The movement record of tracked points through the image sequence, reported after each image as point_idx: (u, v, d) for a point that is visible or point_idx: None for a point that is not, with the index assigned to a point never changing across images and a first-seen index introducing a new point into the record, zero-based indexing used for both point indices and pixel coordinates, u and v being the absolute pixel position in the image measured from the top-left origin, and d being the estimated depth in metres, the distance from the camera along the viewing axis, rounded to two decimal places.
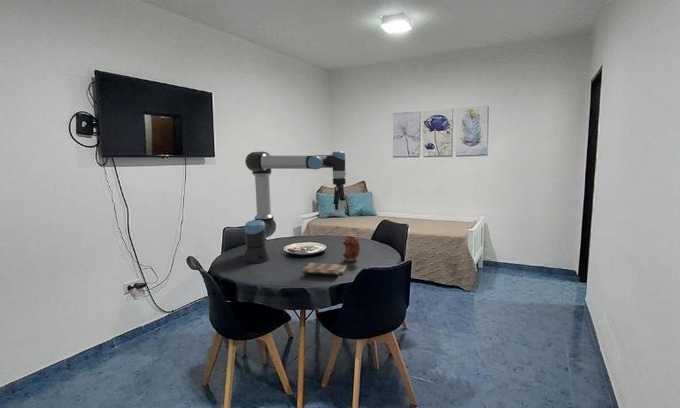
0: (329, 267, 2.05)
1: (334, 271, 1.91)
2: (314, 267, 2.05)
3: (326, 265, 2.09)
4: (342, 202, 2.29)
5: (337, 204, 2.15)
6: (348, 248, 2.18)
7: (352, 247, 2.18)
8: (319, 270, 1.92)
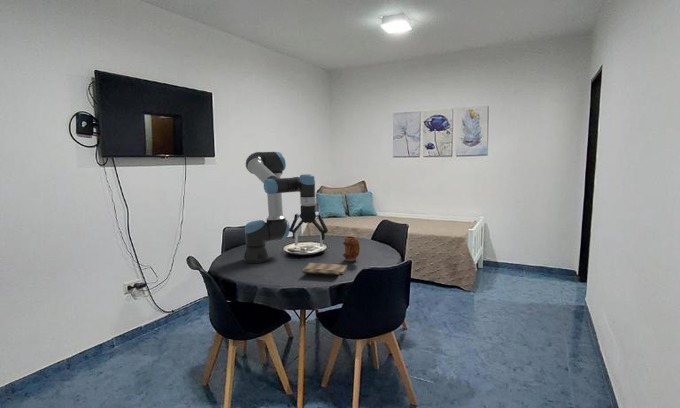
0: (329, 267, 2.05)
1: (334, 271, 1.91)
2: (314, 267, 2.05)
3: (326, 265, 2.09)
4: None
5: (293, 233, 1.93)
6: (348, 248, 2.18)
7: (352, 247, 2.18)
8: (319, 270, 1.92)
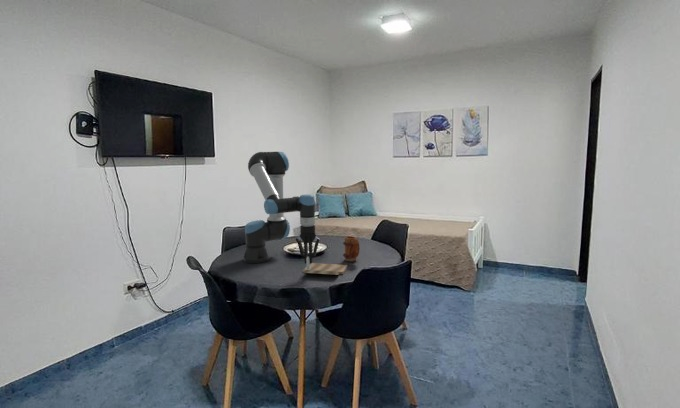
0: (329, 267, 2.05)
1: (334, 272, 1.90)
2: (314, 267, 2.05)
3: (326, 265, 2.09)
4: None
5: (304, 257, 1.93)
6: (348, 248, 2.18)
7: (352, 247, 2.18)
8: (319, 271, 1.92)
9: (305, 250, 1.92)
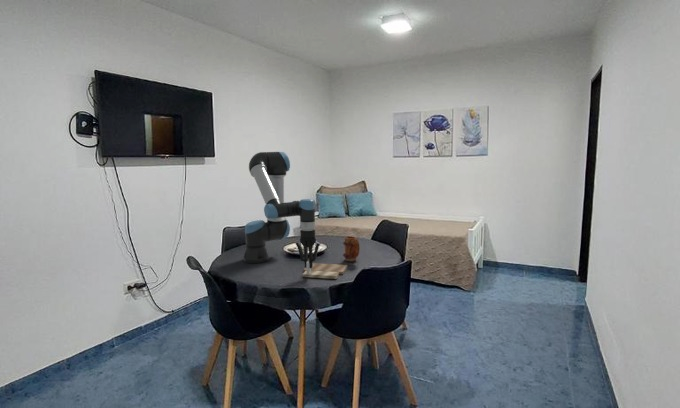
0: (329, 267, 2.05)
1: (334, 276, 1.90)
2: (314, 267, 2.05)
3: (326, 265, 2.09)
4: None
5: None
6: (348, 248, 2.18)
7: (352, 247, 2.18)
8: (319, 276, 1.92)
9: (305, 254, 1.92)
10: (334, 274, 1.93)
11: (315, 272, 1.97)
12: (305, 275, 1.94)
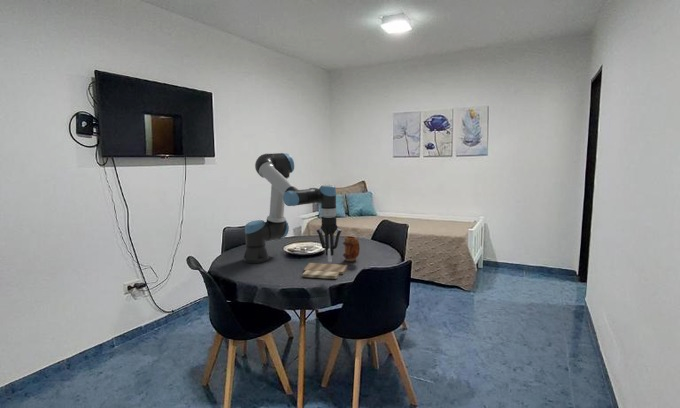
0: (329, 267, 2.05)
1: (334, 276, 1.90)
2: (314, 267, 2.05)
3: (326, 265, 2.09)
4: None
5: (326, 249, 1.90)
6: (348, 248, 2.18)
7: (352, 247, 2.18)
8: (319, 276, 1.92)
9: (326, 242, 1.89)
10: (334, 274, 1.93)
11: (315, 272, 1.97)
12: (305, 275, 1.94)
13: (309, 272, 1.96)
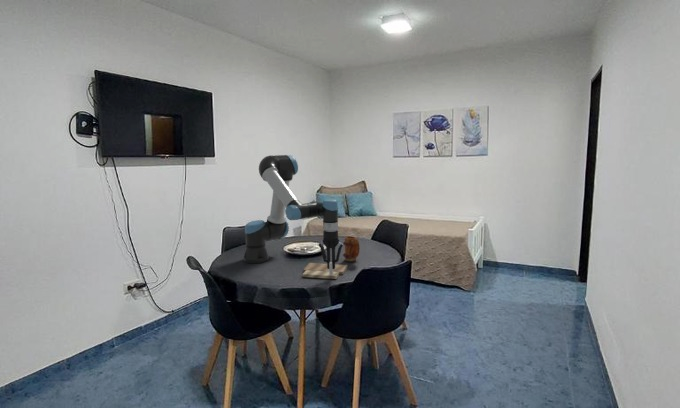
0: None
1: (334, 276, 1.90)
2: (314, 267, 2.05)
3: (326, 265, 2.09)
4: None
5: (327, 263, 1.91)
6: (348, 248, 2.18)
7: (352, 247, 2.18)
8: (319, 276, 1.92)
9: (328, 255, 1.90)
10: (334, 274, 1.93)
11: (315, 272, 1.97)
12: (305, 275, 1.94)
13: (309, 273, 1.96)
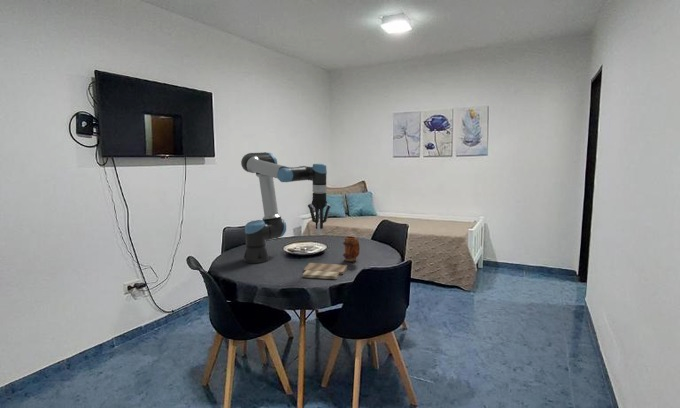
0: (329, 267, 2.05)
1: (334, 277, 1.90)
2: (314, 267, 2.05)
3: (326, 265, 2.09)
4: None
5: (316, 223, 2.05)
6: (348, 248, 2.18)
7: (352, 247, 2.18)
8: (319, 276, 1.92)
9: (316, 216, 2.03)
10: (334, 274, 1.93)
11: (315, 272, 1.97)
12: (305, 275, 1.94)
13: (309, 273, 1.96)
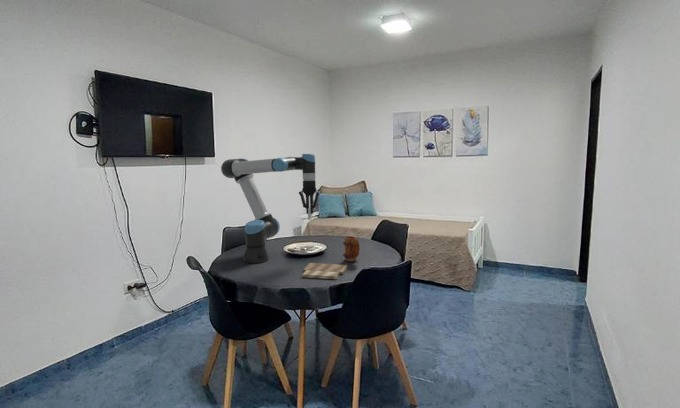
0: (329, 267, 2.05)
1: (334, 277, 1.90)
2: (314, 267, 2.05)
3: (326, 265, 2.09)
4: None
5: (306, 208, 2.22)
6: (348, 248, 2.18)
7: (352, 247, 2.18)
8: (319, 276, 1.92)
9: (307, 202, 2.21)
10: (334, 274, 1.93)
11: (315, 272, 1.97)
12: (305, 275, 1.94)
13: (309, 273, 1.96)
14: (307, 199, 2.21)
